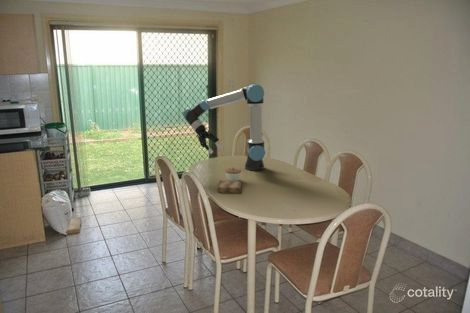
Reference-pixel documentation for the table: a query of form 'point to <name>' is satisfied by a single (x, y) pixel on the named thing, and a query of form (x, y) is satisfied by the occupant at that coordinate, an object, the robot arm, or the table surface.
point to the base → (229, 186)
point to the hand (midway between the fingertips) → (217, 151)
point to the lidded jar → (233, 174)
